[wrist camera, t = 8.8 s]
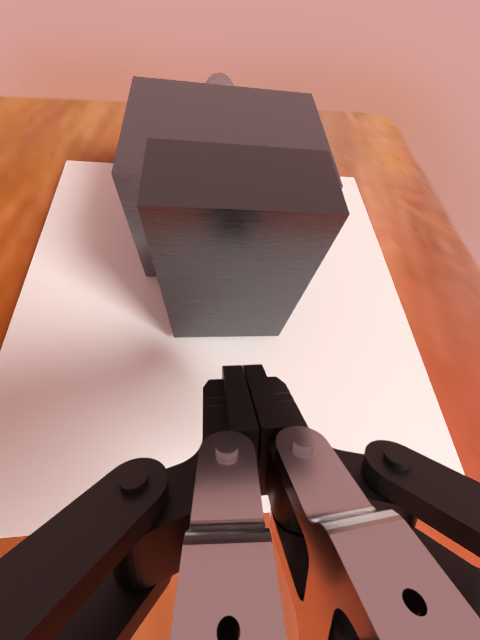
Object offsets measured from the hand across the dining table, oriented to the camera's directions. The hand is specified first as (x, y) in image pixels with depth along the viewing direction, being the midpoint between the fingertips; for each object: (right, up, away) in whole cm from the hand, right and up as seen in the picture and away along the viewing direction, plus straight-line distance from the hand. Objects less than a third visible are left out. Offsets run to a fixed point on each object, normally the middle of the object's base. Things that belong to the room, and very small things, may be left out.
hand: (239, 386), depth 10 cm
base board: (-1, +4, +8) cm, 9 cm away
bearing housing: (-1, +9, +9) cm, 13 cm away
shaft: (-1, +11, +10) cm, 14 cm away
